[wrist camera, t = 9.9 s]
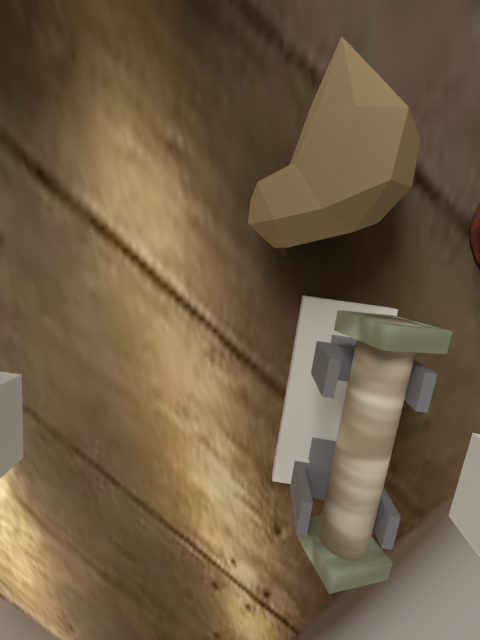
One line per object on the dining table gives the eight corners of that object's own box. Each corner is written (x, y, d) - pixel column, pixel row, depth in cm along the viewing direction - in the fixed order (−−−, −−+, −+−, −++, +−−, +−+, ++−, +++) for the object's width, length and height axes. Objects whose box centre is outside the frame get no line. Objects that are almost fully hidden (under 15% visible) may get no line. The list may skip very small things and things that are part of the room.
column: (337, 310, 25) (388, 326, 20) (392, 315, 27) (452, 331, 22) (294, 533, 29) (329, 593, 24) (346, 524, 30) (388, 579, 25)
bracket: (302, 295, 32) (324, 311, 21) (393, 307, 32) (462, 330, 21) (271, 474, 36) (277, 566, 25) (353, 487, 36) (395, 586, 25)
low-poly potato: (386, 96, 29) (278, 31, 24) (499, 96, 21) (370, -3, 16) (314, 250, 36) (218, 224, 31) (378, 298, 28) (260, 274, 22)
